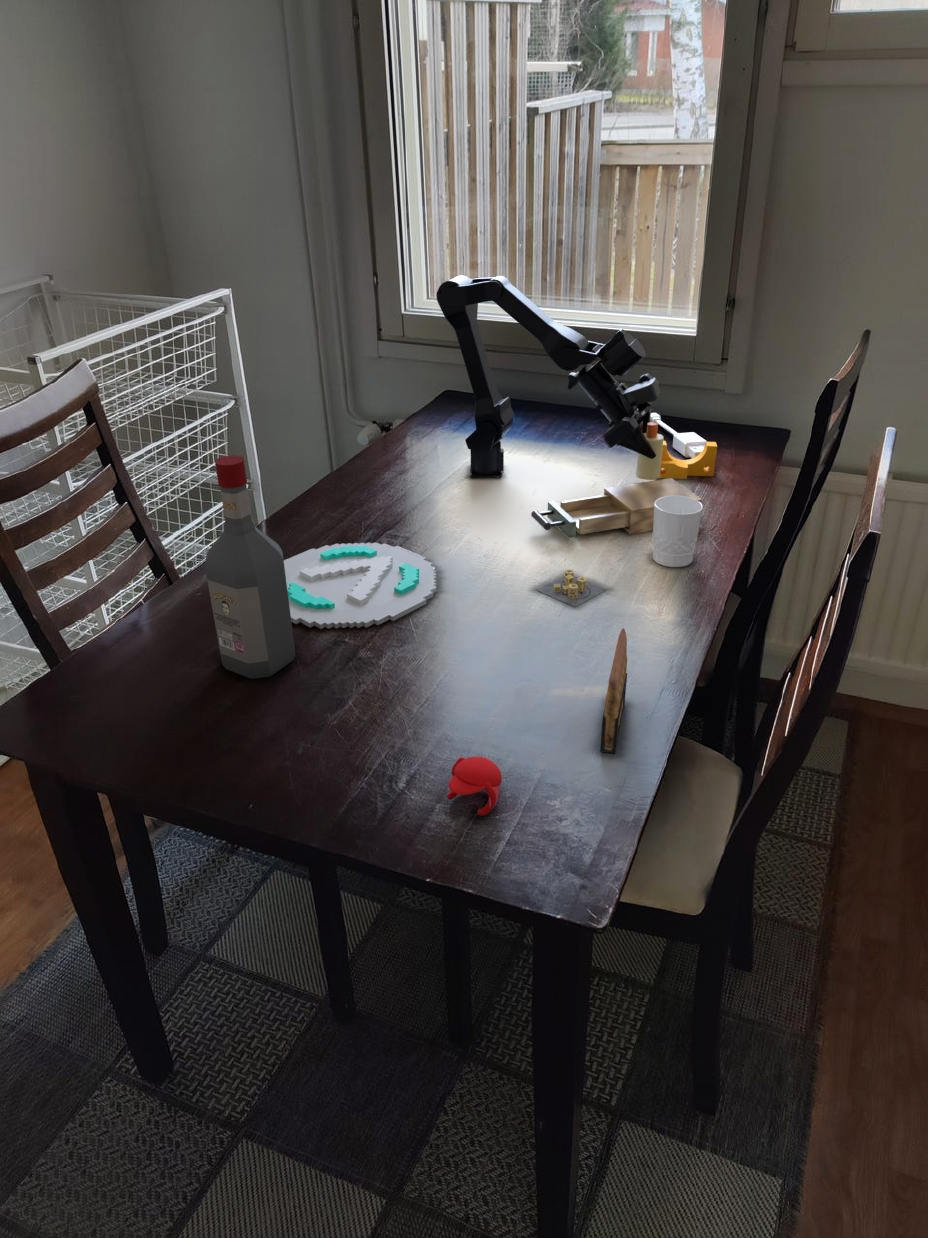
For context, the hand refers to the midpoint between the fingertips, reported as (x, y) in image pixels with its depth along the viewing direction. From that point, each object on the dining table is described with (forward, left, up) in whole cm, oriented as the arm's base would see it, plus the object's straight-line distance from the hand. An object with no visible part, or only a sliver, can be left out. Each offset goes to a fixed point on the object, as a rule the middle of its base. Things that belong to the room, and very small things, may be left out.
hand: (656, 453), depth 178 cm
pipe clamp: (+8, +10, -9) cm, 15 cm away
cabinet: (-2, -11, -8) cm, 14 cm away
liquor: (-65, -61, -9) cm, 90 cm away
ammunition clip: (-17, -77, -9) cm, 79 cm away
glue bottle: (-1, 0, -5) cm, 5 cm away
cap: (-34, -91, -9) cm, 97 cm away
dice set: (-19, -40, -9) cm, 45 cm away
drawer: (-16, -16, -8) cm, 24 cm away
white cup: (-1, -29, -9) cm, 30 cm away
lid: (-55, -38, -8) cm, 68 cm away
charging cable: (+10, +31, -9) cm, 34 cm away
